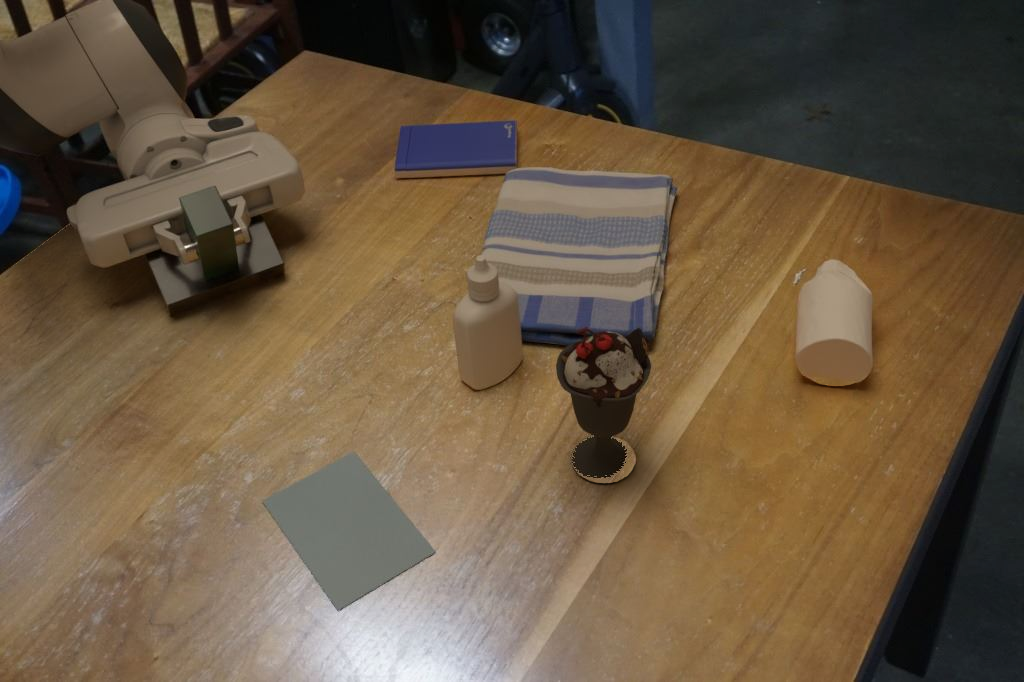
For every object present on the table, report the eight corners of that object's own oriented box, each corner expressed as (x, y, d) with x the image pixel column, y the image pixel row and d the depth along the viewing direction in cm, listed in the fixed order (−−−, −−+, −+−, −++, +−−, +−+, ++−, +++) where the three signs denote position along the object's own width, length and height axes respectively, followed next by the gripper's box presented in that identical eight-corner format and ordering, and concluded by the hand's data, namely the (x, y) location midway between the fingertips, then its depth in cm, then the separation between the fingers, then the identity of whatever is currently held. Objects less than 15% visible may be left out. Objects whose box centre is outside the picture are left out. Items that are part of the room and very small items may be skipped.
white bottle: (866, 293, 96) (877, 243, 92) (867, 391, 88) (879, 340, 84) (795, 287, 97) (803, 236, 93) (790, 383, 89) (798, 332, 85)
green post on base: (170, 316, 99) (154, 263, 89) (146, 260, 101) (128, 202, 91) (284, 274, 103) (282, 218, 93) (260, 221, 104) (254, 160, 94)
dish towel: (677, 191, 108) (679, 167, 106) (657, 357, 92) (658, 333, 90) (505, 181, 111) (503, 158, 109) (455, 340, 95) (452, 316, 93)
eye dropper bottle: (453, 359, 93) (439, 248, 85) (518, 345, 94) (509, 234, 86) (464, 395, 90) (450, 283, 82) (531, 380, 91) (523, 268, 82)
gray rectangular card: (261, 501, 83) (261, 500, 83) (354, 451, 86) (354, 451, 86) (337, 611, 76) (337, 610, 76) (435, 552, 79) (435, 551, 79)
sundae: (550, 486, 82) (543, 341, 72) (571, 421, 87) (566, 276, 77) (637, 502, 81) (642, 355, 71) (654, 435, 86) (660, 288, 75)
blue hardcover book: (516, 118, 117) (400, 123, 118) (516, 161, 111) (394, 167, 112) (517, 130, 118) (402, 136, 119) (517, 174, 112) (396, 180, 113)
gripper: (50, 177, 99) (84, 259, 90) (266, 109, 105) (318, 179, 96) (73, 232, 103) (108, 316, 94) (279, 164, 109) (330, 237, 100)
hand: (216, 247), depth 95 cm, fingers closed on green post on base, 3 cm apart
